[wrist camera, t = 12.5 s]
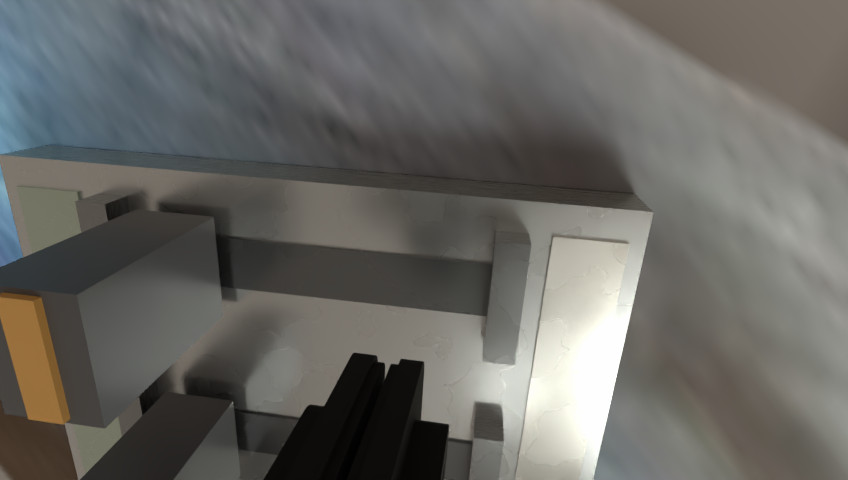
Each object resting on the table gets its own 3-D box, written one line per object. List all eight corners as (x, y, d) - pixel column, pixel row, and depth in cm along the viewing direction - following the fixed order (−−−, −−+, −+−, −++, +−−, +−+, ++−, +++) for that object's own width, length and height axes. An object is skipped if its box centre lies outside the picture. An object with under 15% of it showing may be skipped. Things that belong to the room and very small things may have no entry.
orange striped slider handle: (223, 315, 17) (98, 435, 11) (151, 307, 17) (-3, 419, 12) (213, 216, 16) (69, 299, 10) (136, 209, 16) (-44, 285, 11)
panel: (547, 610, 23) (555, 686, 20) (131, 539, 25) (86, 599, 22) (635, 193, 16) (665, 222, 13) (48, 145, 18) (-32, 161, 15)
